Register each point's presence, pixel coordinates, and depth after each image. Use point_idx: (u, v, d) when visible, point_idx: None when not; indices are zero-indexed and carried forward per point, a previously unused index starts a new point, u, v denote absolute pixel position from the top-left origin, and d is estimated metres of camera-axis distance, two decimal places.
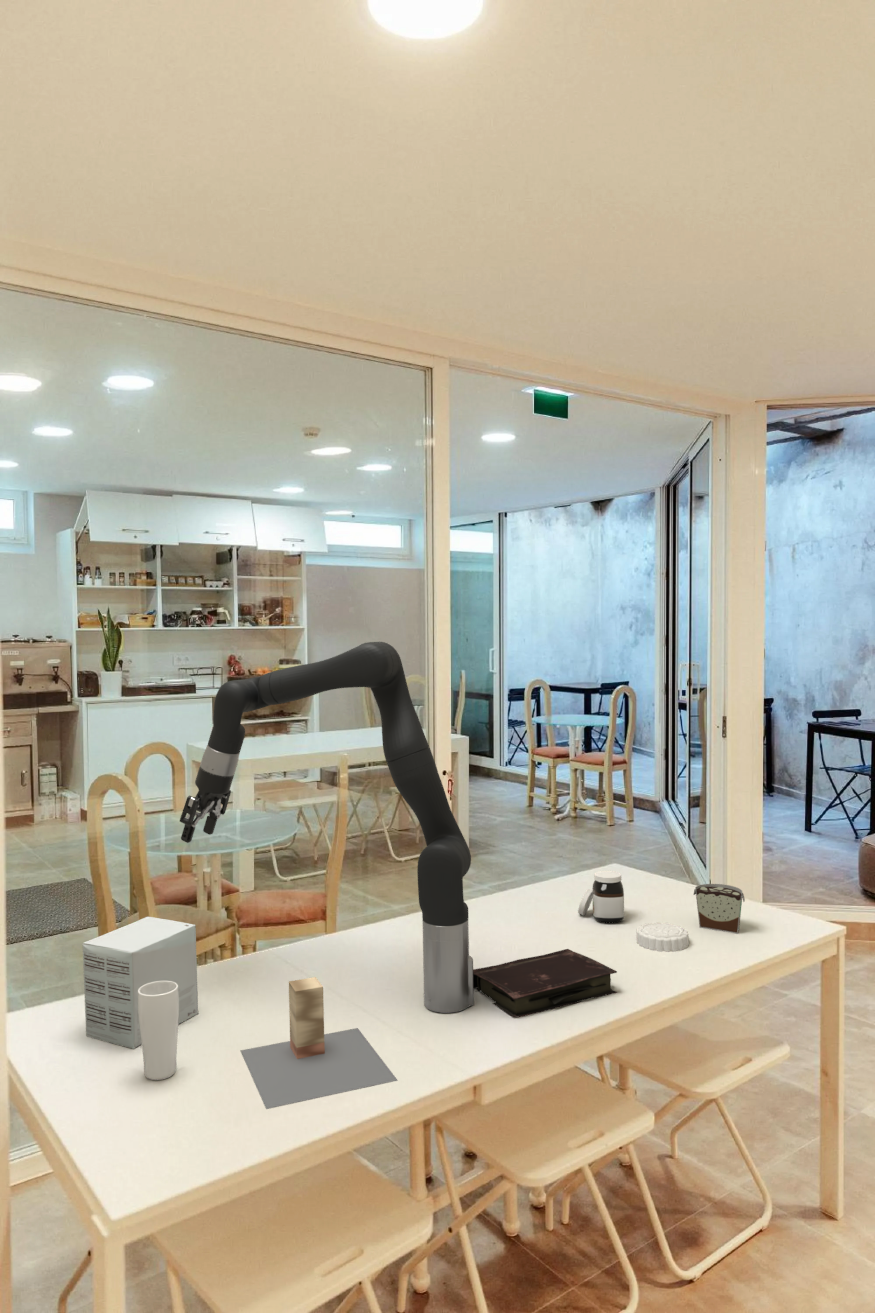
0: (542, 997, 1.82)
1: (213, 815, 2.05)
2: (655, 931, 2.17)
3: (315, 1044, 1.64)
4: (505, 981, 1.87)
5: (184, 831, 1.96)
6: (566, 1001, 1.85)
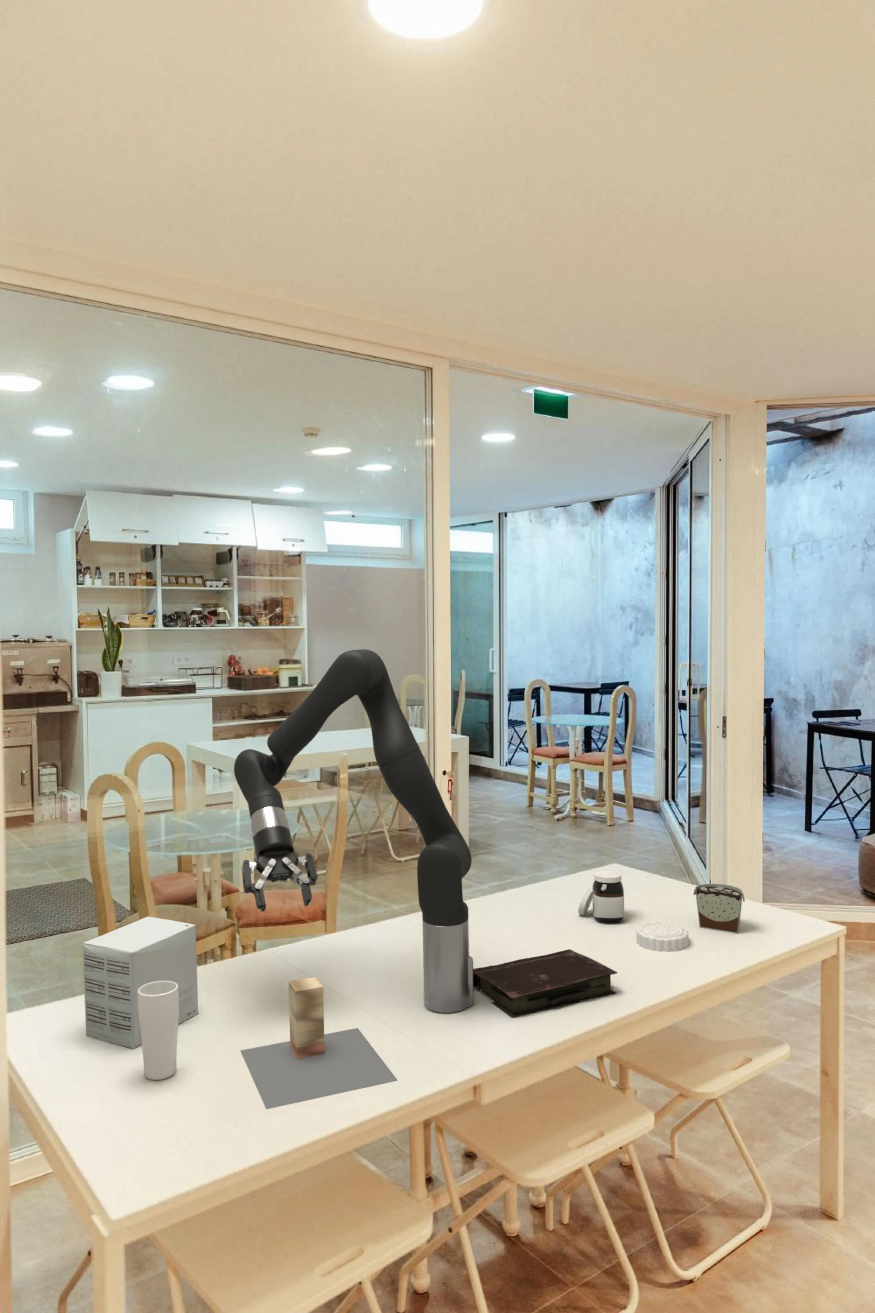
0: (540, 997, 1.82)
1: (302, 883, 1.82)
2: (655, 931, 2.17)
3: (315, 1044, 1.64)
4: (504, 980, 1.87)
5: (256, 900, 1.77)
6: (565, 1001, 1.85)
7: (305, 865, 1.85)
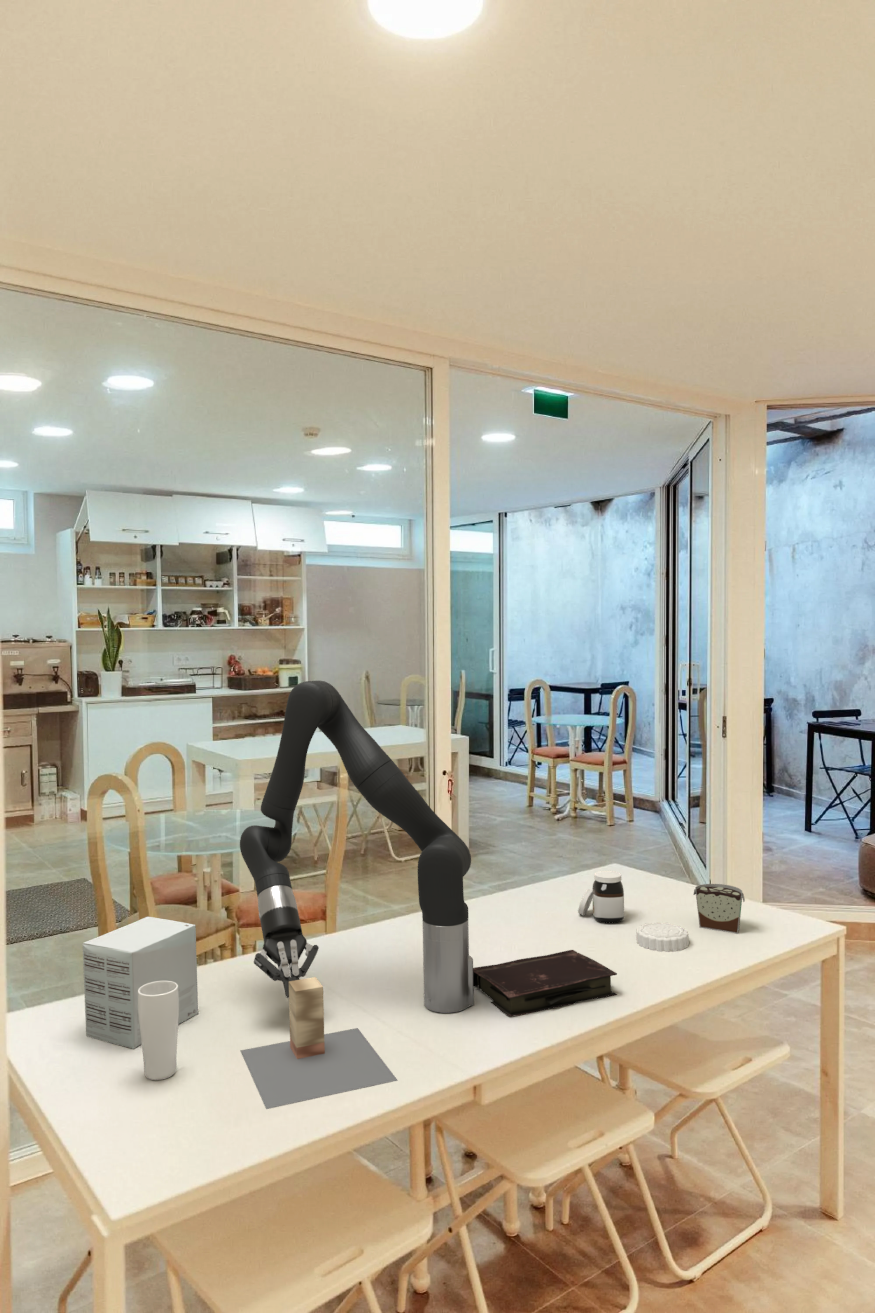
0: (538, 997, 1.82)
1: None
2: (655, 931, 2.17)
3: (315, 1044, 1.64)
4: (503, 980, 1.87)
5: (284, 988, 1.74)
6: (564, 1002, 1.85)
7: (307, 954, 1.79)
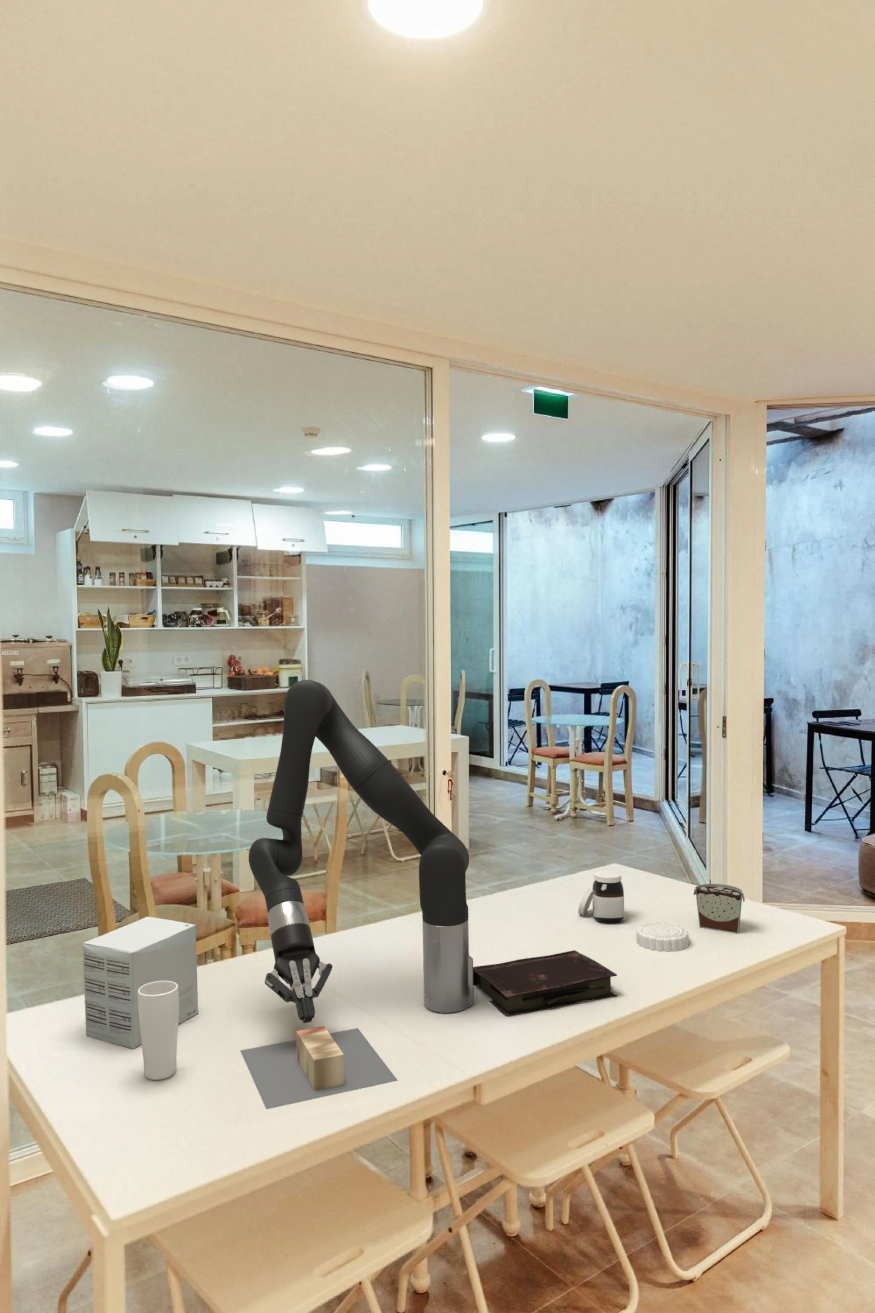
0: (536, 997, 1.82)
1: (305, 994, 1.67)
2: (655, 931, 2.17)
3: None
4: (502, 979, 1.88)
5: (297, 1010, 1.66)
6: (562, 1002, 1.85)
7: (320, 973, 1.71)
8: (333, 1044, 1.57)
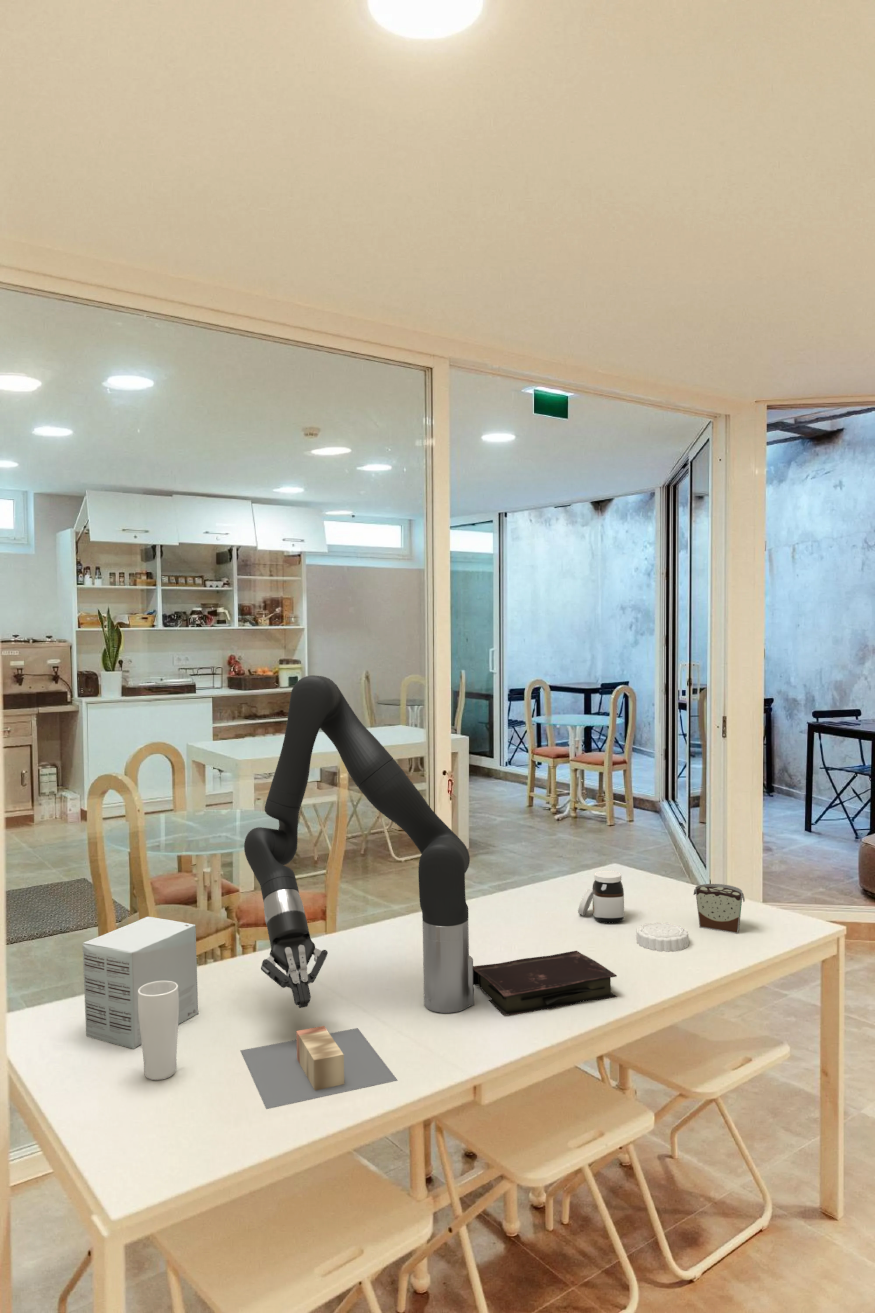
0: (535, 997, 1.82)
1: (300, 980, 1.70)
2: (655, 931, 2.17)
3: None
4: (501, 979, 1.88)
5: (293, 995, 1.68)
6: (561, 1002, 1.85)
7: (316, 959, 1.74)
8: (333, 1044, 1.57)
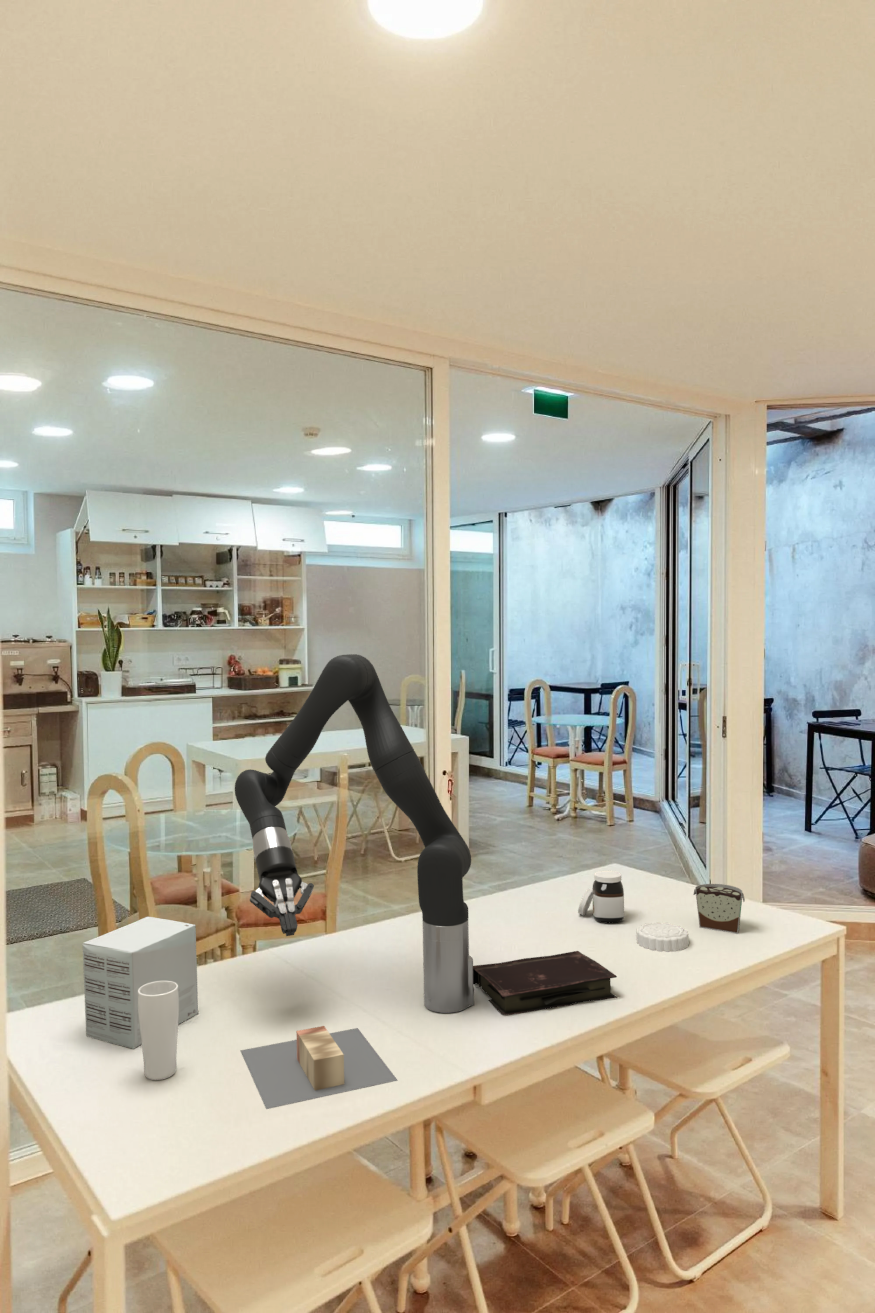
0: (534, 997, 1.82)
1: None
2: (655, 931, 2.17)
3: None
4: (501, 978, 1.88)
5: (281, 924, 1.76)
6: (561, 1002, 1.85)
7: (302, 892, 1.81)
8: (333, 1044, 1.57)
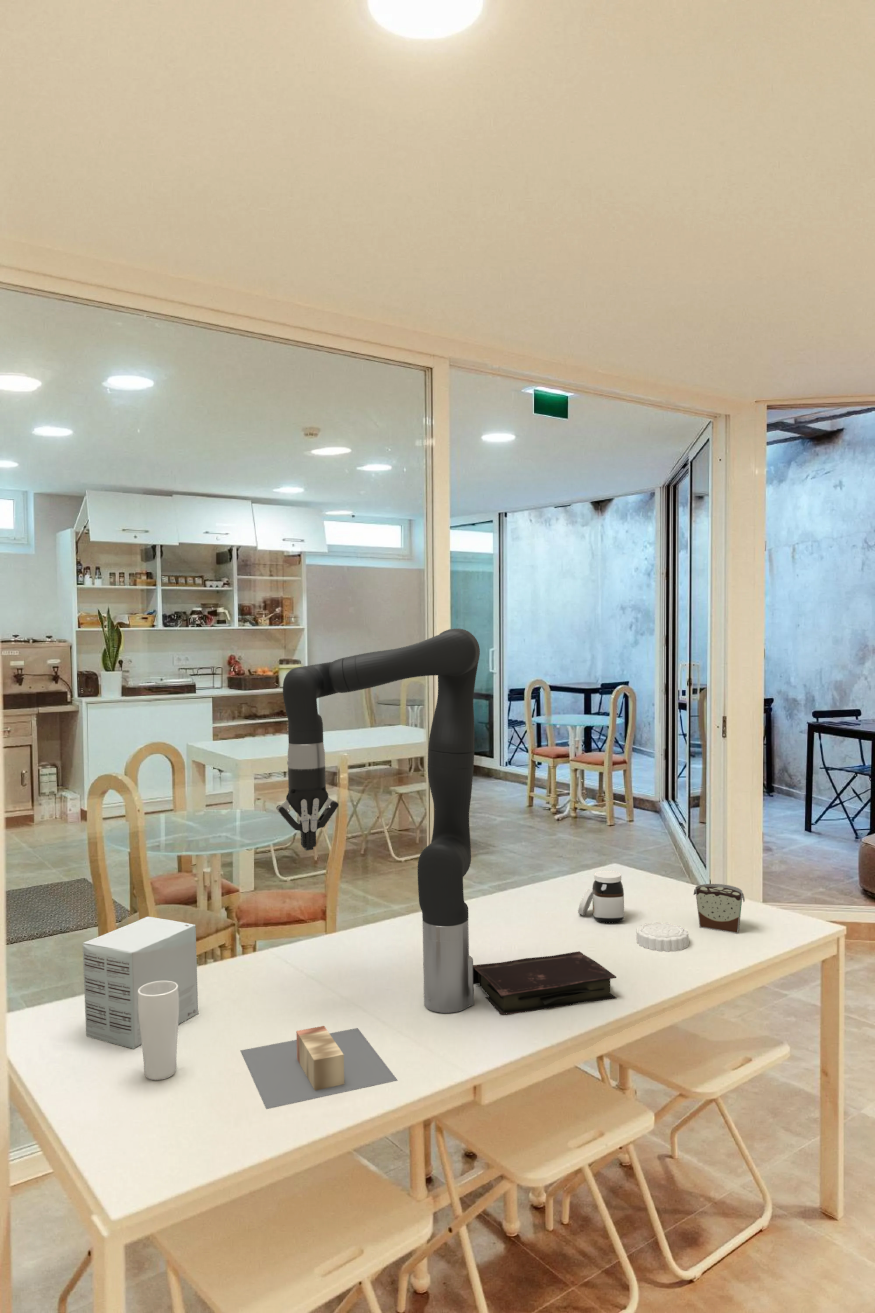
0: (533, 996, 1.83)
1: (310, 826, 1.88)
2: (655, 931, 2.17)
3: None
4: (500, 978, 1.88)
5: (301, 838, 1.88)
6: (560, 1002, 1.85)
7: (326, 808, 1.90)
8: (333, 1044, 1.57)
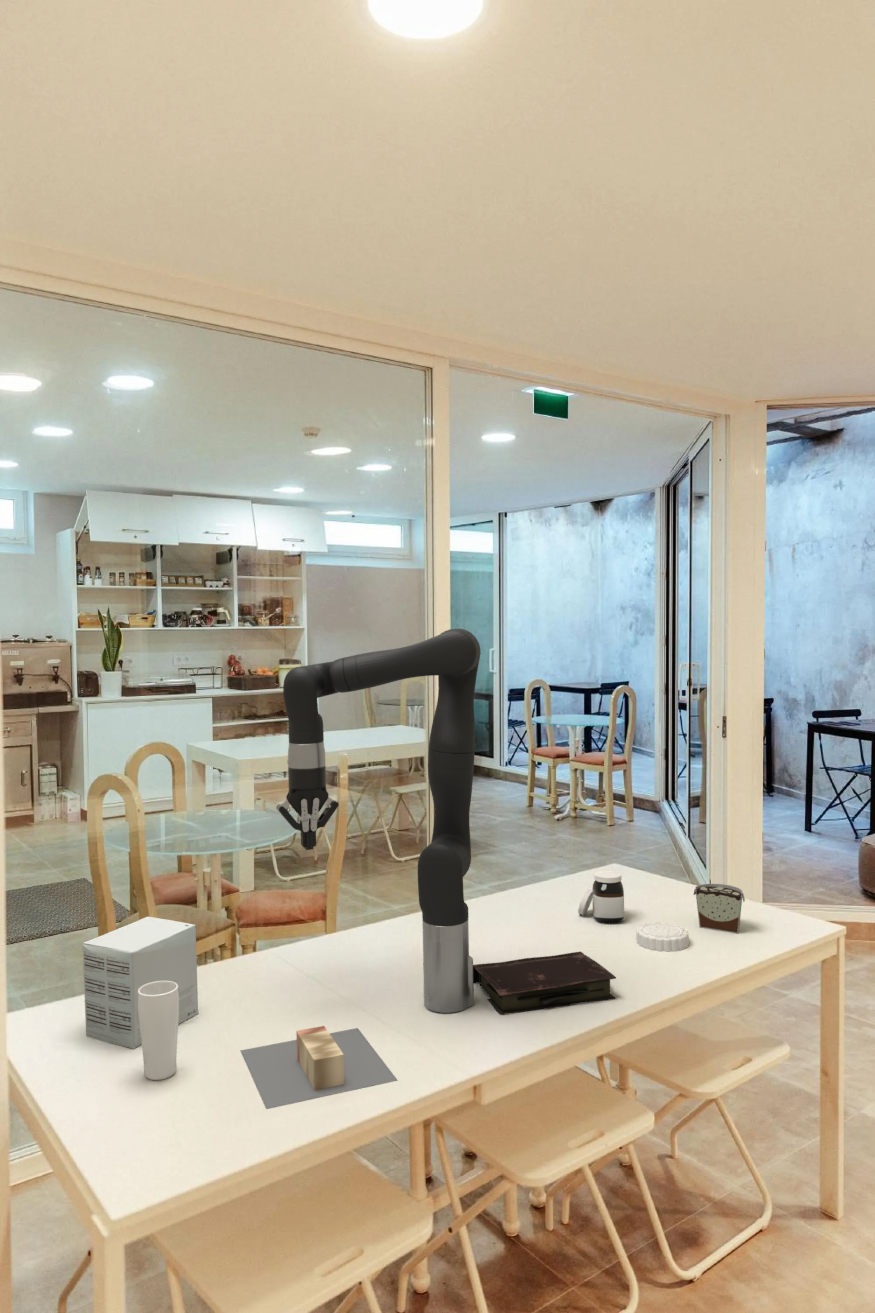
0: (532, 996, 1.83)
1: (310, 825, 1.88)
2: (655, 931, 2.17)
3: None
4: (500, 978, 1.88)
5: (301, 838, 1.88)
6: (559, 1003, 1.85)
7: (327, 807, 1.90)
8: (333, 1044, 1.57)
